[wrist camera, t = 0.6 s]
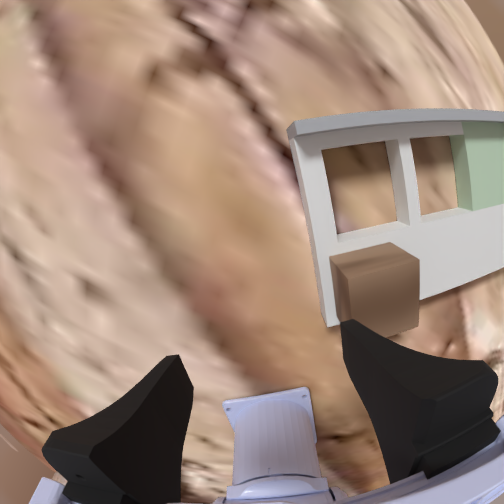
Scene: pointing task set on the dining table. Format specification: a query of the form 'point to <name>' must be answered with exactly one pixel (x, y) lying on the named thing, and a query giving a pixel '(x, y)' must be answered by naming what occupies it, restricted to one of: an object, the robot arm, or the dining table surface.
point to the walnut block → (377, 288)
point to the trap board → (410, 194)
